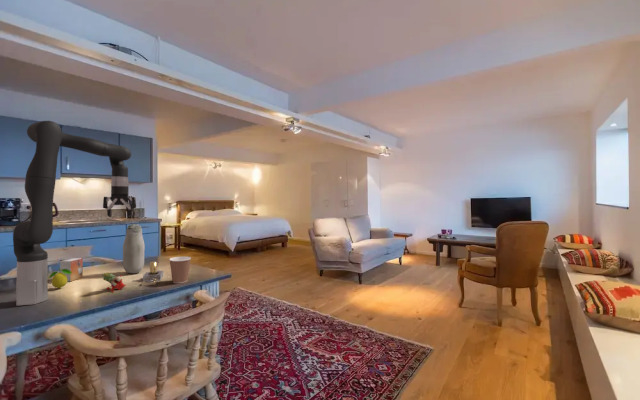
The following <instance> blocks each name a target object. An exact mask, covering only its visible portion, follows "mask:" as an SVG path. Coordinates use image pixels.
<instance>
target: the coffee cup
mask: <svg viewBox="0 0 640 400" xmlns="http://www.w3.org/2000/svg"><path fill="white" fill-rule="evenodd" d="M191 259H192V257H191V256H174V257H170V258H169V259H168V260H169V265H170V273H171V281H172V283H173V284H182V283H183V284H184V283H186V282H188V280H189V272H190V267H191V266H190V265H191Z"/></svg>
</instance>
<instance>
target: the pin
mask: <svg viewBox="0 0 640 400" xmlns="http://www.w3.org/2000/svg"><path fill="white" fill-rule="evenodd" d="M157 271H158V261H150V262H149V272H150V275H152V274H157Z"/></svg>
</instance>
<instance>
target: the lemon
mask: <svg viewBox="0 0 640 400" xmlns="http://www.w3.org/2000/svg"><path fill="white" fill-rule="evenodd" d="M60 270H61V269H60V267H59V268H58V271H53V272H52V273H50V275H49V277H48V279H51V285H52V286H53V287H54V288H57V289H58V290H60V289H61V288H63V287H65V286H66V285H67V284H68V281H67V276H66V275H65V274H64V273H66V274H72V272H71V271H70V270H68V269H62V272H63V273H61V272H60Z"/></svg>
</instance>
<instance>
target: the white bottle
mask: <svg viewBox="0 0 640 400" xmlns="http://www.w3.org/2000/svg"><path fill="white" fill-rule="evenodd" d="M145 247H146V246H145V241H144V236H143V229H142V226H141V225H140V224H137V223H132V224H129V225H128V226H127V228H126V233H125V237H124V240H123V244H122V265H123V266H122V267H123V269H124V271H125V272H126V273H127V274H133V275H134V274H137V273H139V272H141V271H142V270H143V269H144V267H145Z"/></svg>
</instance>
